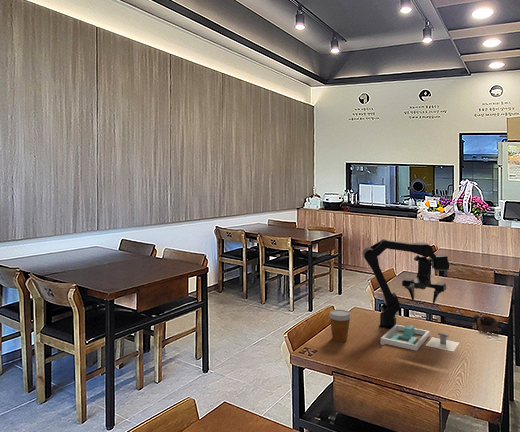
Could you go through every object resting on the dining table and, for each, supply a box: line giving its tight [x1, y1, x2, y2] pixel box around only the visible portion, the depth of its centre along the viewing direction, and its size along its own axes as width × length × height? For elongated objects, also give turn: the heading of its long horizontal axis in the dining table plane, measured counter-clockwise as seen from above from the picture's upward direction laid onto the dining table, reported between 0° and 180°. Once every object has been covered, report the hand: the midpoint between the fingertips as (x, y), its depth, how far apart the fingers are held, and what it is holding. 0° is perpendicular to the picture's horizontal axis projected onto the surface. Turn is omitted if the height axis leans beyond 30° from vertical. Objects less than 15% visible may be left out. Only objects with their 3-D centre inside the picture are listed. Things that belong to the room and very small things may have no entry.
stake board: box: [425, 332, 460, 353], centre depth 183 cm, size 11×11×5 cm
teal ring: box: [391, 324, 418, 344], centre depth 189 cm, size 9×14×4 cm, turn 145°
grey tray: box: [380, 324, 431, 352], centre depth 189 cm, size 15×20×3 cm
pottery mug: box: [473, 314, 499, 333], centre depth 201 cm, size 12×10×8 cm
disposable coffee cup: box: [328, 309, 352, 343], centre depth 192 cm, size 10×10×12 cm
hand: (423, 302), depth 204 cm, fingers open, 9 cm apart
